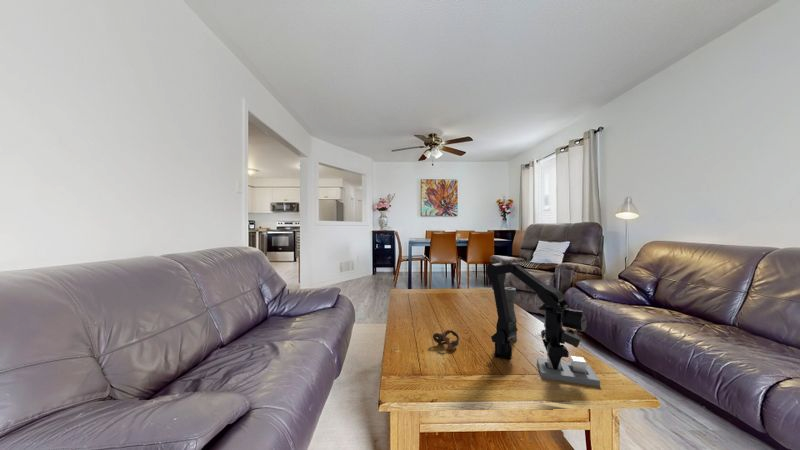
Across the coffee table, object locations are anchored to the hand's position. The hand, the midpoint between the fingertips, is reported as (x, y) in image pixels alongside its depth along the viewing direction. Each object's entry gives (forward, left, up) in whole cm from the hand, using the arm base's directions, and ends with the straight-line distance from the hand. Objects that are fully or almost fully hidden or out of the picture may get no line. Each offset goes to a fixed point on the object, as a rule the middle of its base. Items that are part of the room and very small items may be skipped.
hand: (553, 365), depth 106 cm
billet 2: (+8, 0, -2) cm, 8 cm away
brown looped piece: (-43, +13, -4) cm, 45 cm away
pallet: (+4, 0, -4) cm, 5 cm away
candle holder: (-14, +31, -4) cm, 34 cm away
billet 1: (0, 0, -2) cm, 2 cm away
